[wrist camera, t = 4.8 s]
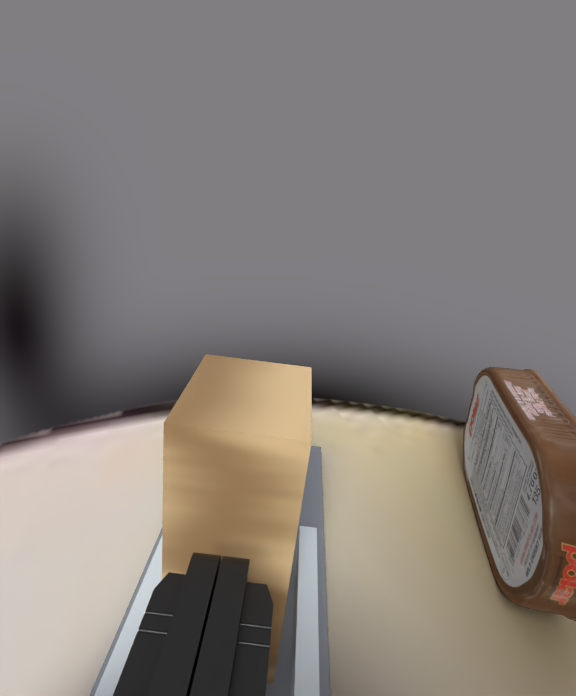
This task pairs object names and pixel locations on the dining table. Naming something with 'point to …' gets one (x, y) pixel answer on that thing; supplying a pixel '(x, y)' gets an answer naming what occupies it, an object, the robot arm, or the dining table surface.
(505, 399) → the tin
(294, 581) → the long grey tray
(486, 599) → the dining table surface
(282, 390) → the oak block
